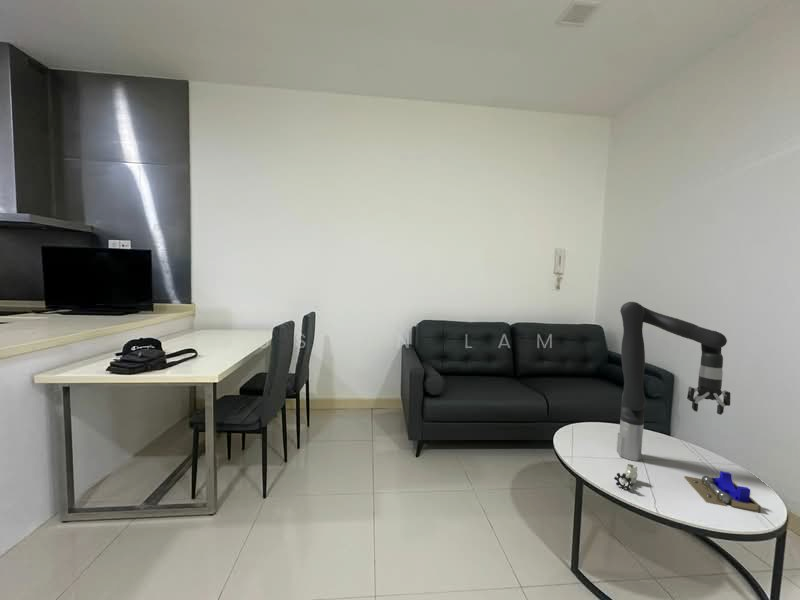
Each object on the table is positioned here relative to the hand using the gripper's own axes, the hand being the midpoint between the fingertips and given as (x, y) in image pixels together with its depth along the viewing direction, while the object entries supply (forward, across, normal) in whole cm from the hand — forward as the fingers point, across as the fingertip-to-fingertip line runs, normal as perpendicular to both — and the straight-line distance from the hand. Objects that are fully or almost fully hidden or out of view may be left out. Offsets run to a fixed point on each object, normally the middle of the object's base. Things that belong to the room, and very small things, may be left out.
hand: (707, 412), depth 146 cm
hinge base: (+28, -1, -15) cm, 32 cm away
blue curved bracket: (+28, +3, -15) cm, 32 cm away
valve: (+28, -34, -22) cm, 50 cm away
